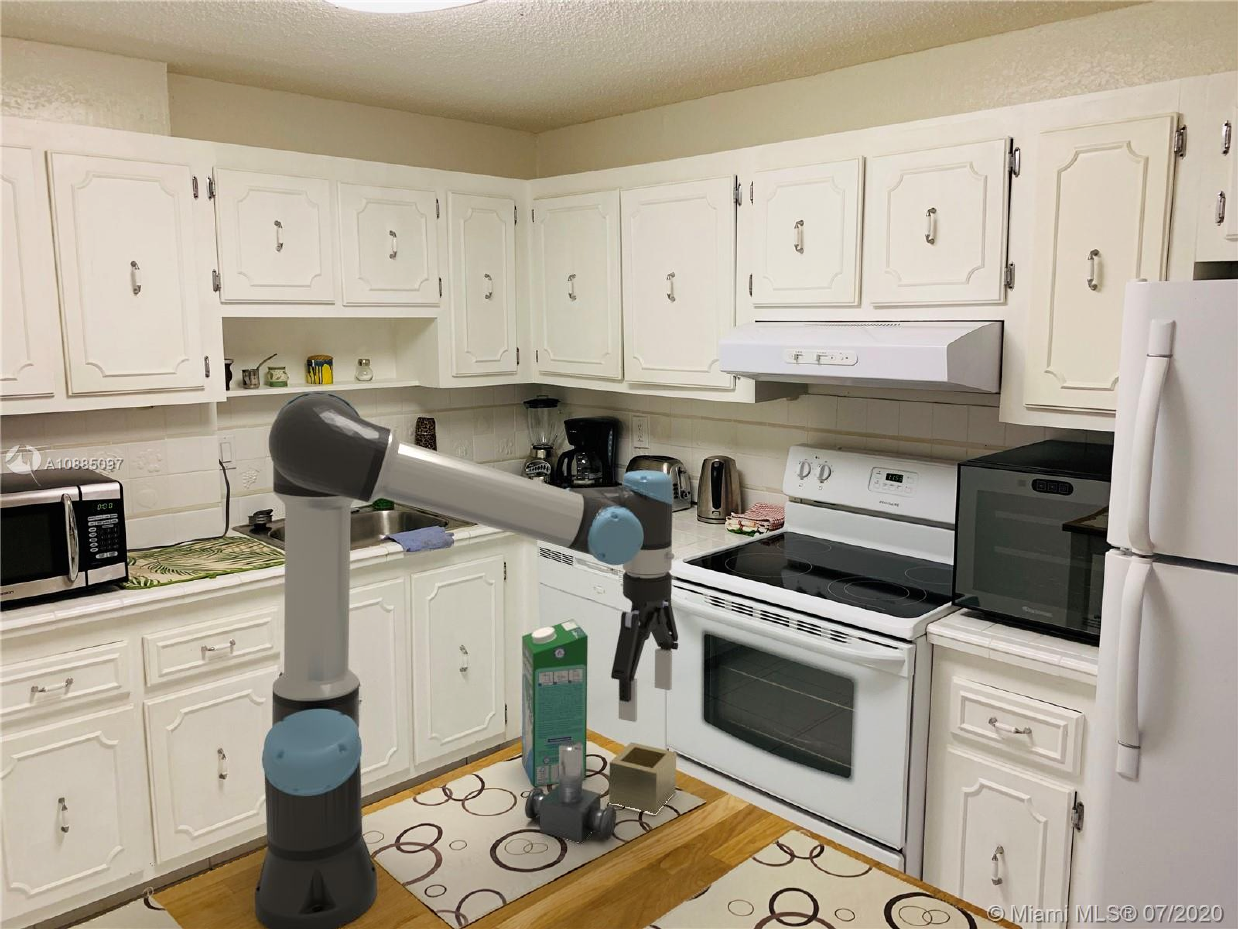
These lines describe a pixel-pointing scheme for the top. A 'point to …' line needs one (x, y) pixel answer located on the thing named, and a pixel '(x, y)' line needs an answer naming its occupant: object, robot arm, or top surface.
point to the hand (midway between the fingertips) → (646, 703)
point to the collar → (642, 777)
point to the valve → (570, 802)
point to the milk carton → (553, 698)
